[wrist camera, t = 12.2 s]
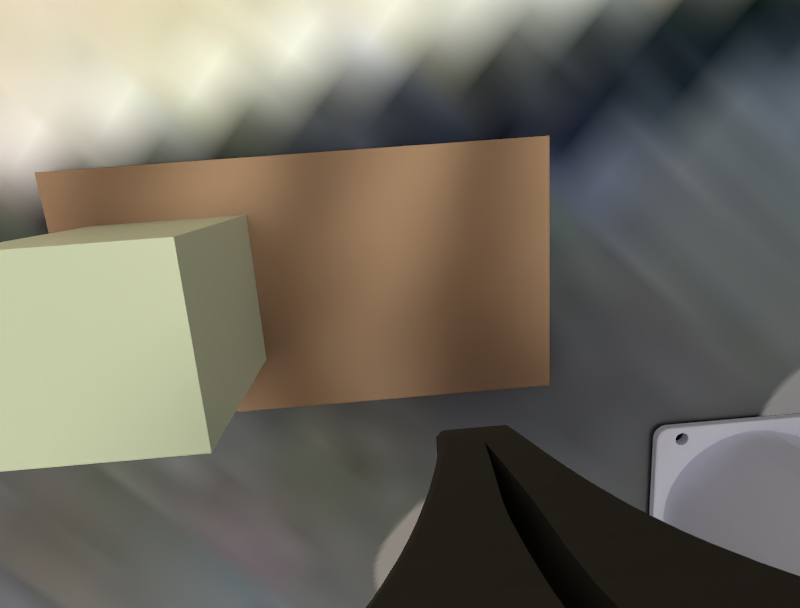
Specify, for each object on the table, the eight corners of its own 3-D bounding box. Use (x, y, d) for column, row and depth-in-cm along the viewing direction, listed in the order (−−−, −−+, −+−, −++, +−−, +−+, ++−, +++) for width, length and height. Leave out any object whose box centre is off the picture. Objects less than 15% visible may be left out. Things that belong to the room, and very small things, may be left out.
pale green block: (246, 214, 18) (173, 236, 11) (266, 359, 19) (211, 453, 13) (90, 226, 18) (-72, 255, 11) (121, 371, 19) (-9, 472, 12)
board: (540, 138, 19) (549, 135, 18) (541, 375, 21) (549, 385, 20) (52, 172, 18) (34, 172, 17) (106, 412, 20) (93, 424, 19)
